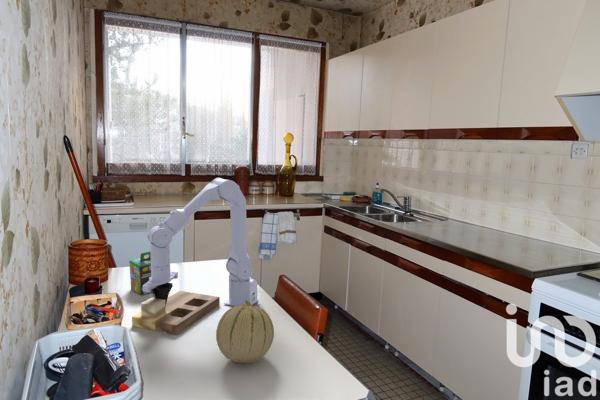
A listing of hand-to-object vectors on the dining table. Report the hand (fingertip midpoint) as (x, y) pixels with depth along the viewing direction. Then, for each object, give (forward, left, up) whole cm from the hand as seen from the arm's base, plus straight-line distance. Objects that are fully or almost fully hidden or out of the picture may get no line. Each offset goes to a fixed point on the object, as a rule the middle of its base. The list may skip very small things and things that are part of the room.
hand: (161, 306), depth 134 cm
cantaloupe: (-36, +13, -4) cm, 39 cm away
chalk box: (+22, -19, -4) cm, 29 cm away
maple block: (0, +4, -1) cm, 4 cm away
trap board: (-3, -4, -4) cm, 6 cm away
